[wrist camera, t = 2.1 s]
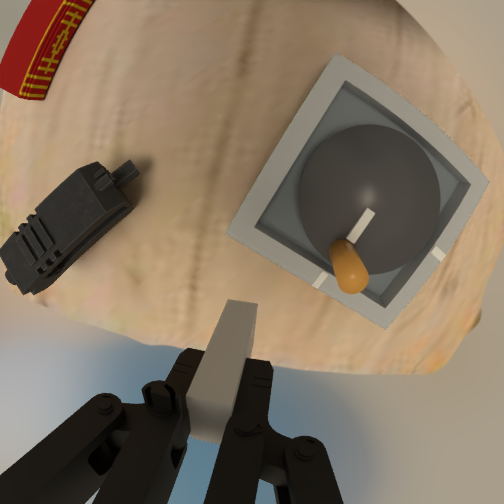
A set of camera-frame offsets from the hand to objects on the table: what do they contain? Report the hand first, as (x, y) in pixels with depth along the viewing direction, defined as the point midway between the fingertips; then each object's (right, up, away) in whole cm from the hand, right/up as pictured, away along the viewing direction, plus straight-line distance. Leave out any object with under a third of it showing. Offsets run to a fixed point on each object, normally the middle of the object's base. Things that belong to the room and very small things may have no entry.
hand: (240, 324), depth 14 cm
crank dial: (+12, +9, +11) cm, 19 cm away
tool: (-21, +7, +21) cm, 31 cm away
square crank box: (+12, +10, +13) cm, 21 cm away
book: (-31, +37, +11) cm, 49 cm away
